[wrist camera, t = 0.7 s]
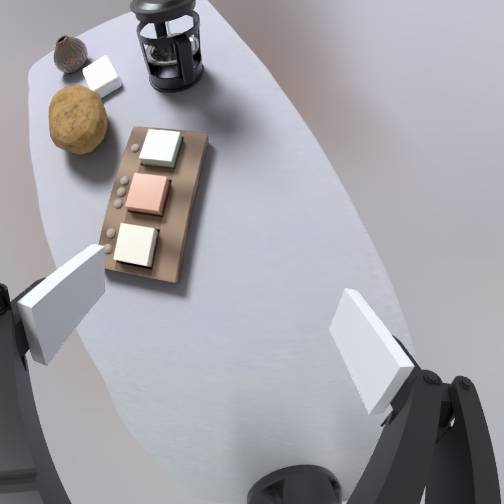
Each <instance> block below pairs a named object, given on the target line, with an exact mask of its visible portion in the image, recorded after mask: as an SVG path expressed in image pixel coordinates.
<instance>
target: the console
mask: <svg viewBox="0 0 504 504" xmlns="http://www.w3.org/2000/svg"><path fill="white" fill-rule="evenodd" d="M149 129H152V130H164V131H175V132H180V134H181V138H182V141H183V143H182V146H181V150H180V153H179V157H178V160H177V164H176V167H175V169H168V168H160V167H151V166H144V165H143V164H142V162H141V160H140V159H139V157H140V154H141V151H142V148H143V145H144V142H145V139H146V136H147V133H148V131H149ZM207 145H208V133H201V132H193V131H184V130H174V129H162V128H149V127H133V130H132V132H131V135H130V137H129V140H128V143H127V146H126V148H125V151H124V154H123V157H122V160H121V163H120V166H119V169H118V172H117V176H116V179H115V182H114V185H113V189H112V192H111V196H110V199H109V203H108V207H107V211H106V215H105V219H104V223H103V227H102V232H101V236H100V241H99V245H102V246H105V269H110V270H114V271H119V272H124V273H128V274H133V275H138V276H143V277H148V278H153V279H158V280H163V281H168V282H174V283H178V282H179V276H180V270H181V265H182V259H183V254H184V248H185V243H186V238H187V233H188V228H189V223H190V218H191V213H192V209H193V204H194V199H195V195H196V191H197V186H198V182H199V178H200V173H201V169H202V165H203V161H204V157H205V153H206V149H207ZM134 173H140V174H149V175H158V176H166V177H167V178H168V180H169V182H170V184H171V186H170V190H169V194H168V198H167V203H166V207H165V211H164V215H163V217H157V216H151V215H144V214H138V213H132V212H131V211H130V210H129V209H128V208H127V207H125V205H126V201H127V197H128V193H129V190H130V186H131V183H132V179H133V176H134ZM121 223H124V224H131V225H137V226H143V227H149V228H154V229H156V230H157V231H158V232H160V234H159V239H158V243H157V249H156V254H155V259H154V264H153V270H150V269H145V268H140V267H135V266H130V265H125V264H123V262H122V261H118V260H114V259H113V258H114V253H115V248H116V243H117V238H118V234H119V229H120V225H121Z"/></svg>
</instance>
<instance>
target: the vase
mask: <svg viewBox="0 0 504 504" xmlns="http://www.w3.org/2000/svg"><path fill="white" fill-rule="evenodd" d="M86 59H87V49H86V46H85V44H84V43H83V42H82V41H81V40H79V39H77V38H73V37H69V36H66V35H64V36H62V37H61V38H59V39H58V40H57V42H56V48H55V52H54V62H55V65H56V66H57V68H58V69H59V70H60V71H62V72H65V73H72V72H75V71H77V70H79V69H80V68H81V67H82V66H83V65H84V63H85V61H86Z"/></svg>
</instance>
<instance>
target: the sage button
mask: <svg viewBox="0 0 504 504" xmlns="http://www.w3.org/2000/svg"><path fill="white" fill-rule="evenodd" d="M182 143H183V141H182V138H181V134H180V132H175V131H164V130H152V129H149V131H148V133H147V136H146V139H145V142H144V145H143V148H142V151H141V154H140V157H139V159H140V160H141V162H142V164H143V165H144V166H151V167H160V168H168V169H175V167H176V164H177V160H178V157H179V153H180V150H181V146H182Z"/></svg>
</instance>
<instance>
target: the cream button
mask: <svg viewBox="0 0 504 504" xmlns="http://www.w3.org/2000/svg"><path fill="white" fill-rule="evenodd" d="M159 234H160V233H159V232H158V231H157V230H156V229H154V228H149V227H143V226H137V225H131V224H124V223H121V225H120V229H119V234H118V238H117V243H116V248H115V253H114V258H113V259H114V260H118V261H122V262H126V263H131V264H136V265H142V266H147V267H152V268H153V264H154V259H155V254H156V249H157V243H158V239H159Z"/></svg>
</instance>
